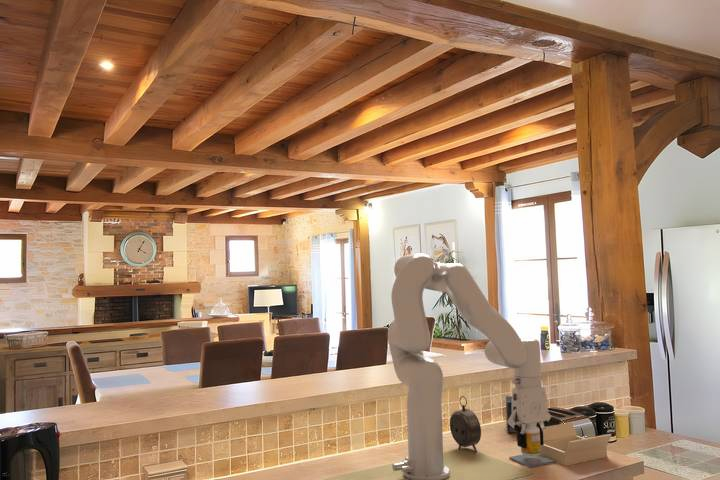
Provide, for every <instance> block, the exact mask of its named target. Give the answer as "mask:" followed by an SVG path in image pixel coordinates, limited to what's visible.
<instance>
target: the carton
mask: <svg viewBox="0 0 720 480" xmlns="http://www.w3.org/2000/svg"><path fill="white" fill-rule="evenodd" d="M611 437H612V434H611V433H608V434H601V435H597V436H592V437H584V436H583V437H582V436H580V435H577V432H576V429H575V427H574V424H573V423H572V421H571V422H565V423H559V424H554V425H548V426H547V425H546V426H545V430H544V431H543V442H544V445H540V447H541V454H540V455H542V456H544V457H547V458H550V459H552V460H555V463H557V464H560V465H563V466H570V465H577V464H580V462H581V463H585V462H590V461H594V460H595V461H596V460H599V459H604V458H608V452H607V450H608V448H607V446H608V444H609V442H610V439H611Z"/></svg>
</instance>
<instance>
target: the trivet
mask: <svg viewBox="0 0 720 480" xmlns="http://www.w3.org/2000/svg"><path fill="white" fill-rule="evenodd" d="M508 460H511V461H512V462H515V463H516V464H517V463H518V464H520V465H522V466H525V467H526V468H529V469H531V468H536V467H541V466H546V465H551V464H555V463H556V462H555V460H552V459H550V458H547V457H544V456H542V455H538V456H527V455H523V454H522V453H521V454H518V455H513V456H512V455H511V456H509V458H508Z"/></svg>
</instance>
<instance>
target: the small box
mask: <svg viewBox="0 0 720 480" xmlns="http://www.w3.org/2000/svg"><path fill="white" fill-rule="evenodd" d="M505 408H506V409H505V413H506V414H505V417H506V418H505V419H506V432H507V434H517V432H515V430H514V429H513V428H512V426H510V425H509V424H508V423H507V421H508V419H509V417H510V416H511V414H512V395H511V396H510V395H508V396H505ZM516 422H517V421H515V423H516ZM520 428H521V425H520Z"/></svg>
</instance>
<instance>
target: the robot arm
mask: <svg viewBox="0 0 720 480" xmlns="http://www.w3.org/2000/svg"><path fill="white" fill-rule="evenodd" d="M393 271H394V275H395V277H396V278H395V281H394V283H393V285H392V289H391V306H392V311H393V317H394V320H393V321H392V322H391V323H390V325H389V327H388V329H387V342H388V346H389V350H390V355H391V360H392V363H393V367H394V372H395V374H396V378H397V379H398V380H399V382H401V383H402V384H403V385H405V386H406V387H408V392H407V398H406V424H407V451H408V456H405V457H404V460H403V461H402V462H396V463H393V464H392V465H391V466H392V470H393V471H394V472H397V471H401V472H402V473H403V476H404V477H405V478H407V479H409V480H445V479H447V478H449V476H450V474H451V472H450V468H449V467H448V466H447V465H445V464H444V463H445V462H444V437H443V436H444V435H443V416H442V415H443V412H442V411H443V410H442V407H443V406H442V398H443V397H442V396H443V395H442V394H443V386H444V374H443V370H442V368H441V366H440V364H439V363H438V362H437V361H436V360H435V359H432V358H431V357H428V356H425V355H424V352H425V351H426V350H427V349H428V348H429V346H430V344H431V332H430V329H429V328H430V327H429V324H428V320H427V316H426V311H425V307H424V300H423V295H424V294H423V293H424V290H429V291H434V292H435V291H436V292H441V293H446V294H447V295H448V297H449V299H450V300H451V302H452V303H453V305H454V306H455V308H456V310H457V311H458V313H459V315H461V317H462V319H463V320H464V321H465V322H466V323H467V324H469V326H471V327H472V328H474V329H476V330H477V331H479V332H481V334H483V335H484V336H485V337H486V338H487V339H488V340H489V341H488V342H487V343H486V344H485V348H484V355H485V357H486V359H487V360H488V361H489V362H491V363H492V364H493V365H494V364H495V365H496V366H497V365H498V366H502V367H505V368H509V369H513V373H514V375H513V376H514V378H513V379H512V380H511V382H512V383H511V384H513V385H514V386H513V388H512V392H511V393H512V394H511V396H512V414H511V416H510V417H509V419H508V421H507V423H508V424H509V425H510V426H512V428H513V429H514V430H515V432H517V433H516V443H517V447H519V448H521V447H522V448H526V447H527V444H526V434H524V431H525V427H526V424H532V423H537V425H536V426H537V427H538V428H539V429H540V445H544V442H543V431H544V430H545V427H547V425H548V422H549V421H550V420H551V418H552V415H551V413H549V405H548V397H547V392H546V389H545V386H544V385H542V382H543V381H542V365H541V345H540V341H539V340H538V339H536V338H533V337H532V338H530V337H523V338H521V337H520V336H519V334H518V333H517V332H516V330H515V329H514V327H513V326H512V325H511V324H510V323H509V322H508V320H506V318H504V317H503V315H501V314H500V312H499V311H498V310H497V309H496V308H495V307H493V305H491V304H490V303H489V301H488V299H487V298H486V296H485V295H484V293H483V291H482V290H481V288H480V287H479V285H478V284H477V282H476V280H475V279H474V278H473V276H472V274H471V272H470V271H469V270H468V268H466V267H465V266H464V265H463V264H461V263H458V262H457V263H456V262H451V263H450V262H447V263H444V262H437V261H434V260H433V258H432V257H430V256H429V255H427V254H425V253H412V254H405V255H402V256H401V257H400V258H398V259H397V261H396V262H395V263H394V267H393ZM515 421H517V422H516V423H515ZM520 425H521V428H520Z"/></svg>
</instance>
